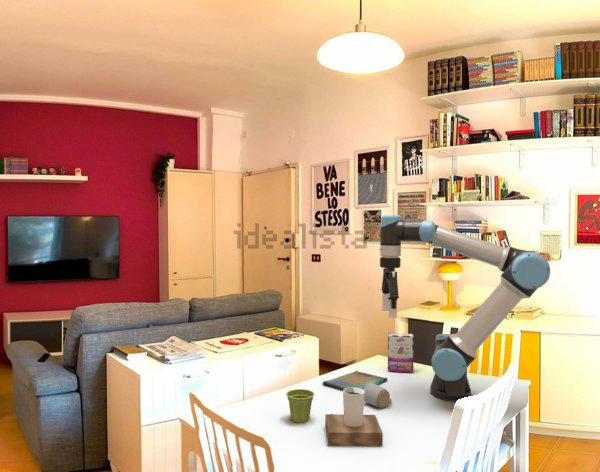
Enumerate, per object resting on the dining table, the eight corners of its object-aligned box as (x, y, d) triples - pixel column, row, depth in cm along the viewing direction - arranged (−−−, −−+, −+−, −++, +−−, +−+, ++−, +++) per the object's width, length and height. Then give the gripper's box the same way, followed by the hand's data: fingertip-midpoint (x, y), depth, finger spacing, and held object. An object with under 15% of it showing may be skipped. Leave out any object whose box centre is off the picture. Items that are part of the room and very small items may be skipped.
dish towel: (320, 386, 206) (320, 380, 206) (354, 374, 224) (354, 368, 224) (356, 396, 195) (356, 390, 195) (388, 382, 213) (388, 376, 213)
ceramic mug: (377, 410, 180) (378, 389, 180) (361, 404, 186) (361, 384, 186) (396, 405, 186) (397, 384, 186) (380, 398, 192) (381, 379, 192)
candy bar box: (412, 370, 229) (413, 333, 228) (413, 373, 224) (414, 336, 223) (387, 368, 230) (387, 332, 230) (387, 372, 226) (388, 334, 225)
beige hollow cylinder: (349, 428, 154) (349, 395, 154) (338, 420, 160) (339, 389, 160) (368, 425, 157) (368, 393, 157) (357, 417, 163) (357, 386, 163)
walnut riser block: (374, 426, 166) (375, 414, 166) (382, 446, 152) (382, 432, 152) (325, 426, 166) (325, 414, 165) (328, 445, 152) (328, 432, 151)
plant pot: (293, 427, 165) (294, 400, 165) (281, 416, 173) (281, 391, 173) (319, 422, 169) (319, 395, 169) (305, 412, 178) (306, 387, 177)
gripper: (374, 254, 202) (373, 308, 203) (386, 259, 178) (385, 320, 178) (393, 254, 203) (392, 308, 203) (408, 259, 178) (406, 320, 178)
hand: (389, 314), depth 191 cm, fingers open, 13 cm apart
